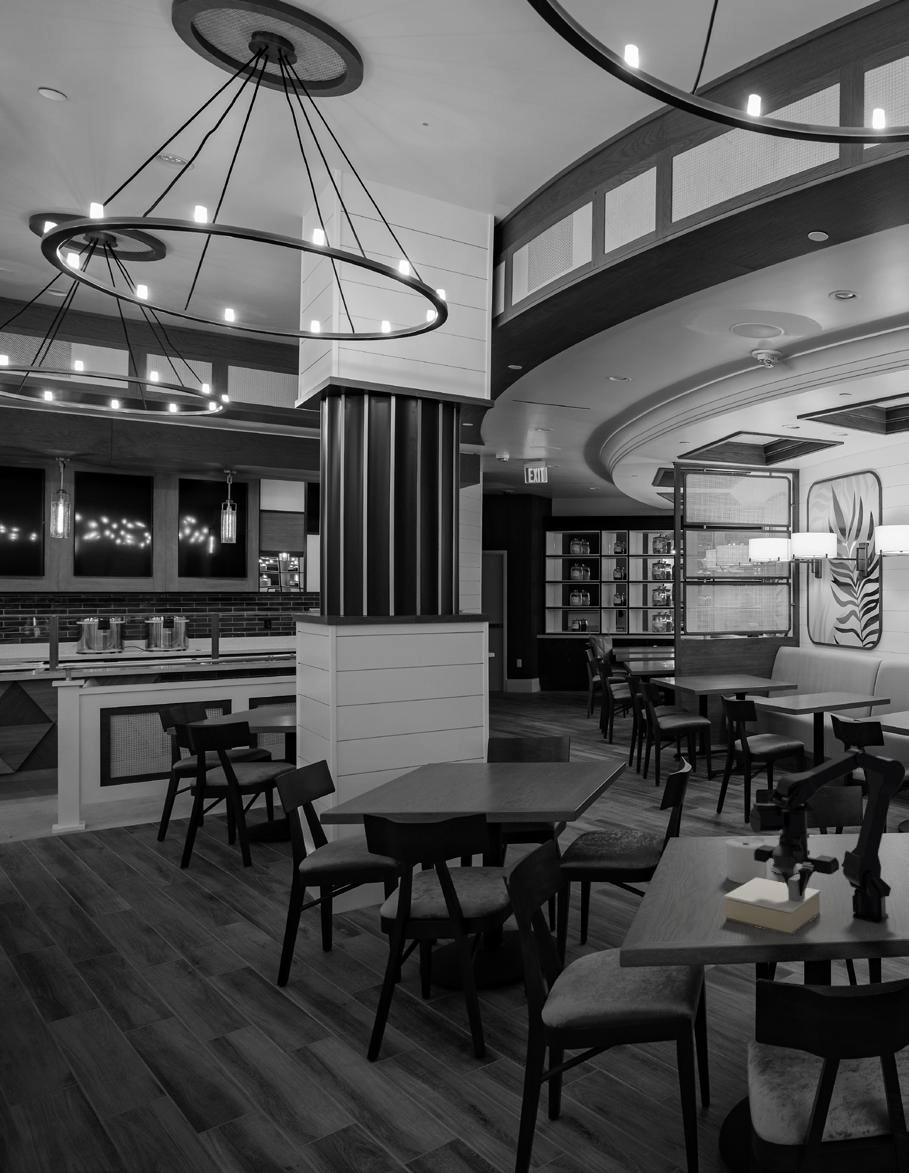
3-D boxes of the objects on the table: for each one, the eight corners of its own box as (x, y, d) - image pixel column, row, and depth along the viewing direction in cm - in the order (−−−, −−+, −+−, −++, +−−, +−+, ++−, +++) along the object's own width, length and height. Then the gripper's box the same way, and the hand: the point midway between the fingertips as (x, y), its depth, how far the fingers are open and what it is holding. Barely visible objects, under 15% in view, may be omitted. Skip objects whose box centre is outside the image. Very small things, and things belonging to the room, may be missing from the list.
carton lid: (820, 892, 210) (819, 870, 210) (790, 913, 197) (790, 888, 197) (756, 879, 221) (755, 858, 221) (724, 898, 208) (723, 875, 208)
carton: (819, 914, 210) (819, 894, 210) (791, 935, 197) (790, 914, 197) (757, 900, 221) (756, 881, 221) (726, 919, 208) (725, 899, 208)
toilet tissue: (726, 883, 235) (725, 846, 236) (728, 870, 247) (727, 835, 247) (767, 886, 232) (765, 849, 232) (767, 873, 243) (765, 838, 243)
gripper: (743, 830, 206) (745, 895, 205) (821, 843, 193) (823, 912, 193) (762, 821, 214) (764, 883, 213) (838, 833, 201) (841, 899, 201)
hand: (796, 894), depth 205 cm, fingers closed on carton lid, 2 cm apart
